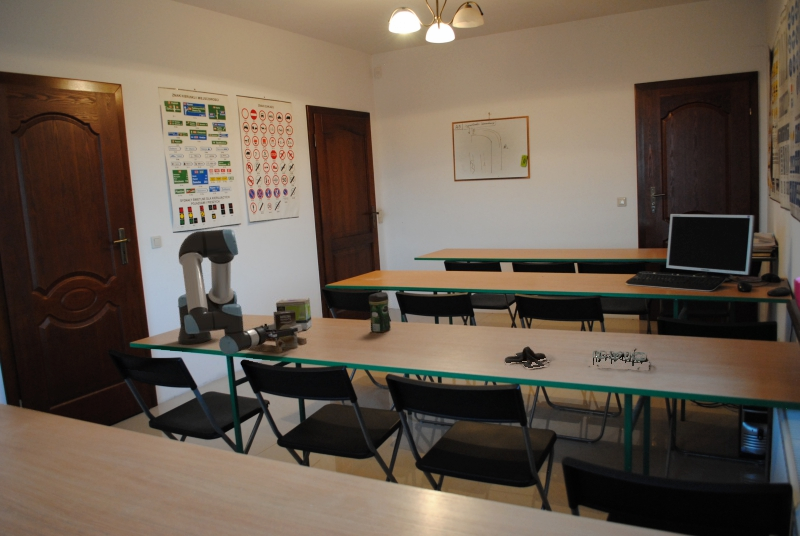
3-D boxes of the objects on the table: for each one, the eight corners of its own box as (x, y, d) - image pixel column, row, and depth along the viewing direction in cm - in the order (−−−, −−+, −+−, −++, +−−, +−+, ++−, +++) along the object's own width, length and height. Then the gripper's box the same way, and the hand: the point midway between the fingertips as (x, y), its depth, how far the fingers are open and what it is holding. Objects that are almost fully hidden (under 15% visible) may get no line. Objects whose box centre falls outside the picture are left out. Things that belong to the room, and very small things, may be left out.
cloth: (540, 373, 205) (539, 356, 204) (494, 366, 217) (493, 350, 216) (566, 357, 222) (566, 342, 221) (522, 351, 234) (522, 336, 233)
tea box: (312, 325, 300) (310, 297, 299) (307, 330, 291) (304, 301, 289) (283, 326, 302) (281, 298, 300) (278, 331, 292) (275, 302, 290)
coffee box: (277, 350, 255) (274, 314, 253) (275, 346, 261) (272, 311, 259) (298, 347, 258) (295, 312, 256) (296, 344, 264) (293, 309, 262)
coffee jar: (380, 327, 287) (378, 290, 285) (393, 329, 282) (390, 291, 280) (367, 332, 279) (365, 294, 277) (380, 333, 275) (378, 295, 272)
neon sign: (650, 339, 225) (650, 361, 198) (650, 350, 226) (650, 373, 199) (592, 337, 233) (585, 357, 207) (593, 347, 234) (585, 369, 207)
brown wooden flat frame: (242, 347, 264) (242, 342, 263) (270, 338, 278) (269, 333, 277) (279, 353, 250) (278, 347, 250) (306, 343, 264) (306, 338, 264)
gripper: (234, 343, 251) (271, 331, 268) (275, 349, 237) (311, 336, 254) (233, 326, 250) (269, 315, 267) (273, 331, 236) (309, 320, 253)
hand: (290, 326), depth 261 cm, fingers open, 13 cm apart
